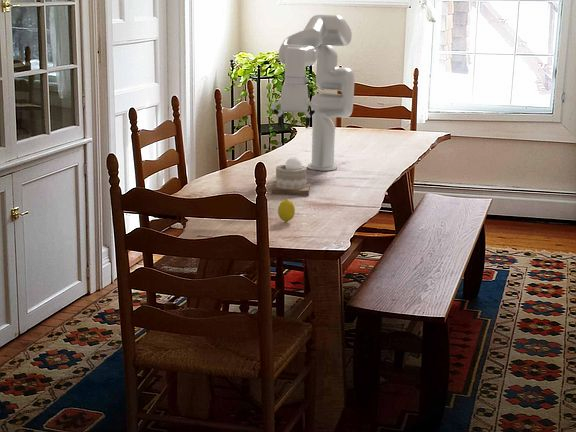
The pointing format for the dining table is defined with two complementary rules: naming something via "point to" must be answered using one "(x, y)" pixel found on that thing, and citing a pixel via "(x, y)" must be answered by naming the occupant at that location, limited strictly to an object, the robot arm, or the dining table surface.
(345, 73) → the robot arm
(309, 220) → the dining table surface
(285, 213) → the lemon
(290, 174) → the socket
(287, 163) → the lightbulb
